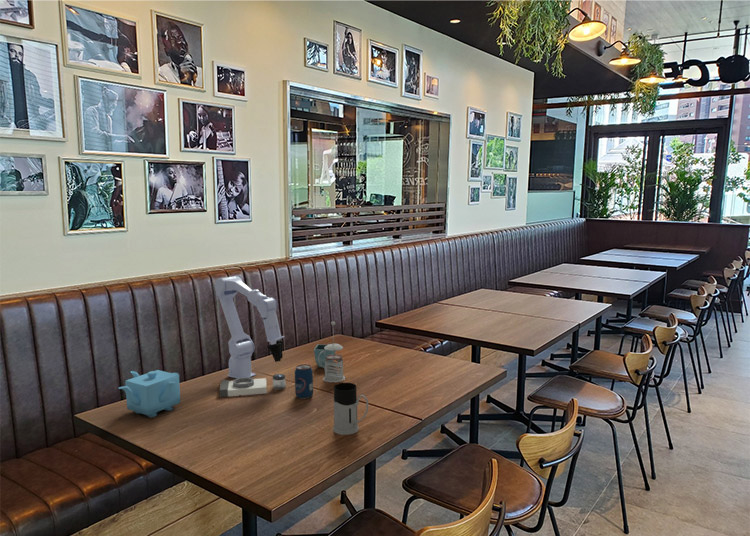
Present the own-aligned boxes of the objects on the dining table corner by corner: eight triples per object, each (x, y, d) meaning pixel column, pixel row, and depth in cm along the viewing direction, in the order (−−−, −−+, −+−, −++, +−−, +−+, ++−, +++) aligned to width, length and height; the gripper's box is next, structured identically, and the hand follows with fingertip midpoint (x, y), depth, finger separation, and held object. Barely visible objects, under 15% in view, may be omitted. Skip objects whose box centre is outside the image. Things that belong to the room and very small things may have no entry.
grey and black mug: (345, 421, 189) (344, 380, 187) (376, 432, 180) (376, 389, 178) (327, 429, 183) (326, 387, 180) (359, 441, 174) (358, 397, 172)
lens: (270, 388, 222) (270, 376, 221) (278, 384, 226) (278, 372, 225) (279, 390, 219) (279, 378, 219) (288, 386, 223) (287, 374, 223)
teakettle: (182, 399, 211) (180, 362, 209) (178, 418, 193) (175, 378, 191) (130, 404, 206) (127, 366, 204) (120, 424, 188) (117, 383, 186)
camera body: (220, 397, 212) (219, 387, 212) (221, 387, 223) (221, 378, 223) (266, 393, 216) (266, 383, 216) (266, 383, 227) (265, 374, 226)
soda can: (291, 397, 212) (290, 367, 210) (302, 391, 218) (301, 362, 216) (306, 400, 208) (305, 370, 207) (316, 394, 214) (315, 365, 213)
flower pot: (336, 363, 254) (336, 344, 252) (333, 369, 245) (332, 350, 244) (317, 362, 255) (317, 344, 253) (313, 368, 246) (313, 349, 245)
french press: (344, 382, 228) (343, 324, 224) (317, 382, 228) (315, 324, 225) (346, 374, 238) (345, 318, 234) (320, 374, 238) (318, 319, 234)
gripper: (279, 326, 215) (287, 360, 214) (283, 324, 229) (290, 355, 229) (262, 330, 214) (269, 364, 214) (266, 327, 229) (273, 359, 228)
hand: (279, 360), depth 221 cm, fingers open, 7 cm apart
